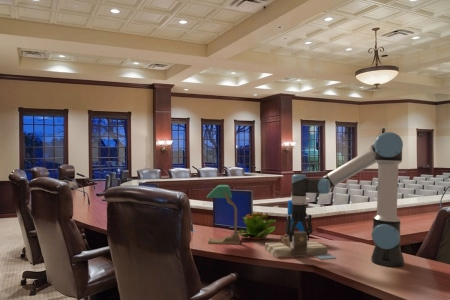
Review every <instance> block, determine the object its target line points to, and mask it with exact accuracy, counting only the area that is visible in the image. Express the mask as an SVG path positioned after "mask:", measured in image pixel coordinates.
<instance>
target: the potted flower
mask: <svg viewBox="0 0 450 300" xmlns="http://www.w3.org/2000/svg"><path fill="white" fill-rule="evenodd" d="M267 217H269V213H265V214H264V213H263V212H252V213H251V214H250V213H248V214H246V215H245V216H242V219H243V223H244V224H245V228H246V230H244V229H239V230H237V232H238V235H239V236H241V237H242V238H248V239H250V240H256V241H257V240H258V241H259V240H264V239H265V237H267V236H269V235H270V234H271V233H272V232H275V229H276V226H274V225H273V226H271V225H272V224H274V223H276V219H272V218H271V219H269V220H268V221H267Z"/></svg>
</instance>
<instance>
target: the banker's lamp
mask: <svg viewBox="0 0 450 300" xmlns="http://www.w3.org/2000/svg"><path fill="white" fill-rule="evenodd" d="M232 198H233V194H232V190H231V188H230V186H229V185H228V184H218V185H217V186H216V187H214V188H213V189H212V190H211V191H210V192H209V193H208V195H207V196H206V199H226V202H227V204H229V205H231V206H232V207H233V209H234V210H233V211H234V219H233V220H234V221H233V222H234V226H233V227H234V231H233V232H232V233H231V235H226V236H225V237H223V238H211V237H209V238H208V240H207V241H208V244H209V245H241V237H240V235H239V234H238V232H237V231H238V208H237V206H236V204H235V203H234V201H233V200H232Z"/></svg>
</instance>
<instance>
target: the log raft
mask: <svg viewBox="0 0 450 300" xmlns="http://www.w3.org/2000/svg"><path fill="white" fill-rule="evenodd" d="M264 247H265V248H264V250H265V251H266V252H268V253H269V254H270V255H272V256H273V257H274V258H277V259H278V258H279V257H280V258H292V257H291V256H296V257H307V256H308V257H310V256H309V255H312V256H314V255H320V254H329V253H328V250H329V249H328V246H326V245H324V244H321V243H319V242H318V241H315V240H309V241H308V248H307V255H293V254H291V248H289V247H288V246H286V245H284V244H282V243H281V242H280V241H278V242H265V245H264ZM280 258H279V259H280Z"/></svg>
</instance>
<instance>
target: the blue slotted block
mask: <svg viewBox="0 0 450 300" xmlns="http://www.w3.org/2000/svg"><path fill="white" fill-rule="evenodd" d="M292 204H293V203H292V199H290V200H289V199H288V201H287V215H291V213H292ZM292 221H293V218H292V217H291V224H290V228H291V225H292ZM294 231H304V228H303V226H302V223H301V222H300V221H299V222H297V224H296V226H295V229H294ZM287 236H289V235H287Z"/></svg>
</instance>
